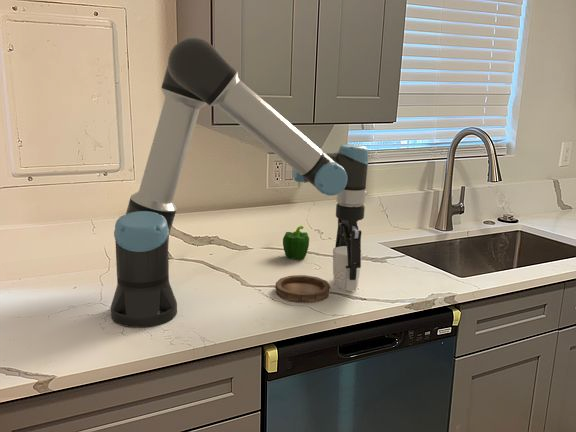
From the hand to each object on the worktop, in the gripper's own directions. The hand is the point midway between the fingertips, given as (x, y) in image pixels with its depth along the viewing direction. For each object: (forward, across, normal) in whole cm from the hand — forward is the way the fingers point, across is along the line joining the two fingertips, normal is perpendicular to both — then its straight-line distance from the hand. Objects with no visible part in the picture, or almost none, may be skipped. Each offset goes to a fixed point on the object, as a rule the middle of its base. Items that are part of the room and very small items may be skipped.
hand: (345, 283), depth 155 cm
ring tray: (0, -4, +13) cm, 14 cm away
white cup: (+1, 0, 0) cm, 1 cm away
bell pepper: (+1, +24, +9) cm, 26 cm away
